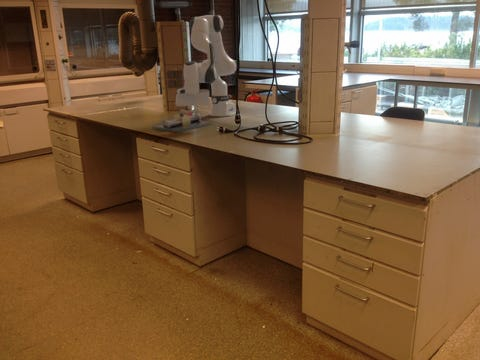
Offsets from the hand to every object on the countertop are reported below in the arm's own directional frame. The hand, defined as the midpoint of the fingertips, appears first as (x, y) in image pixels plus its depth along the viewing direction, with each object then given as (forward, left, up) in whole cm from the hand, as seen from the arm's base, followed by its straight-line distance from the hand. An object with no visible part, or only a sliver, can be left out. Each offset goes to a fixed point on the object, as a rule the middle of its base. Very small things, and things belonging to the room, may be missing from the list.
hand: (193, 113), depth 271 cm
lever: (0, -6, -2) cm, 7 cm away
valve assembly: (-2, -12, -10) cm, 16 cm away
